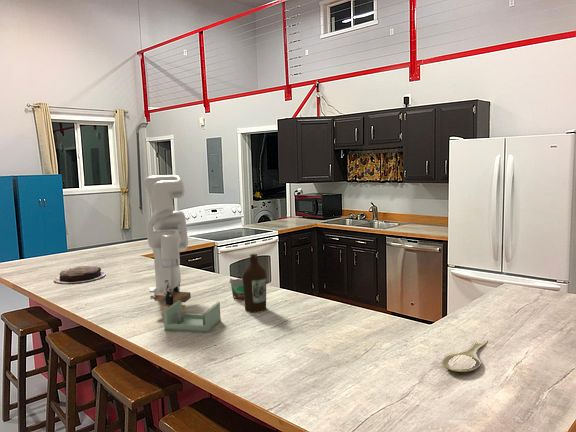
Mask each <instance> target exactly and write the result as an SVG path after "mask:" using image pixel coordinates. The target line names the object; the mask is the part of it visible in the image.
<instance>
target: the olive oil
mask: <svg viewBox="0 0 576 432" xmlns="http://www.w3.org/2000/svg"><path fill="white" fill-rule="evenodd" d="M258 261H259V258H258V254H257V253H250V254H249V264H248V265H247V266H245V269H244V270H243V271H242V277H241V278H243V288H244V300H243V301H244V310H245V312H247V313H261V312H264V311H266V310H267V272H266V270H265V268H264V267H263V266H262V265H261V264H260V263H259V262H258Z"/></svg>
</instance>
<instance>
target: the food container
mask: <svg viewBox="0 0 576 432" xmlns="http://www.w3.org/2000/svg"><path fill="white" fill-rule="evenodd" d="M229 284H230V286H231V293H232V299H233V298H234V299H233V300H235V299H236V301H245V300H244V288H243V277H241V278H236V279H234V278H230V279H229Z"/></svg>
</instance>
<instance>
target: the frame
mask: <svg viewBox="0 0 576 432" xmlns="http://www.w3.org/2000/svg"><path fill="white" fill-rule="evenodd" d="M181 305H182V302H181V301H177V302H173V305H171V306H170V307H169V308H167V309H166V310H164V315H163V324H164V331H165V332H185V333H207V334H208V333H210V332H211V331H212V330H213V329H214V328H215V327H216V326H217V325H218V324H219V323H220V322H221V302H220V301H216V302H215V303H214V304H213V305H212V306H211V307H210V308H208V309H207V310H206V311H204V313H187V312H186V313H183V310H182V308H181Z"/></svg>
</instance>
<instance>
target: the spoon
mask: <svg viewBox="0 0 576 432" xmlns="http://www.w3.org/2000/svg"><path fill="white" fill-rule="evenodd" d="M476 343H477V342H476ZM476 343H474V345H473V346H472V347H471V348H470V349H468V350H466V351H463V352H462V351H461V352H459V353H453V354H450V355H447V356H445V357H443V359H442V366H443V367H444V368H446V369H447V370H449V371H451V372H456V373H457V372H458V373H459V372H460V373H468V372H472V371H474V370H477V369H478V368H480V366H481V364H482V363H481V360H480V359H479V357H478V355H477V353H478V350H479V349H481V348H483V347H484V346H486V345H487V343H488V342H487V341H486V343H479V344H478V343H477V344H476ZM457 355H466V356H469V357H472V359H474V360H475V361H476V364H475V366H473V367H472V368H469V369H461V370H460V369H455V368H453V367H451V366H450V365H449V364H448V362H449V360H450V359H451V358H453V357H454V356H457Z"/></svg>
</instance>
